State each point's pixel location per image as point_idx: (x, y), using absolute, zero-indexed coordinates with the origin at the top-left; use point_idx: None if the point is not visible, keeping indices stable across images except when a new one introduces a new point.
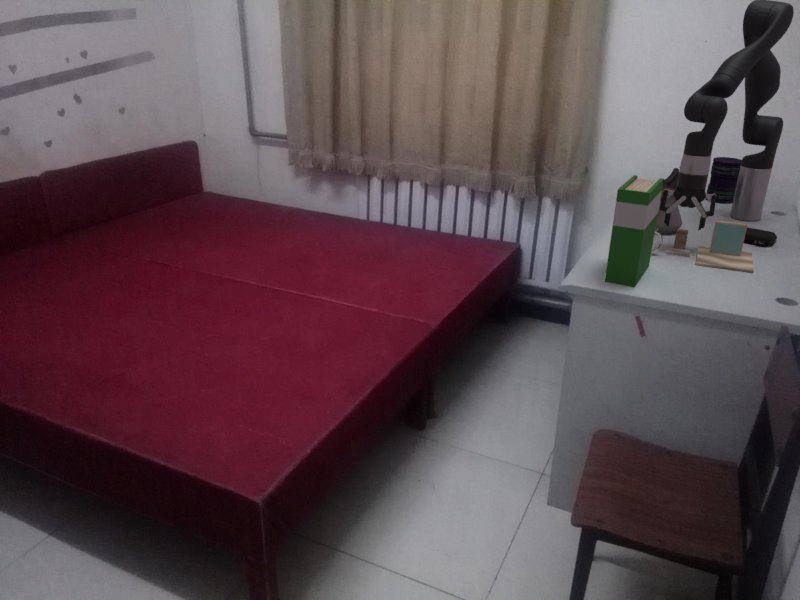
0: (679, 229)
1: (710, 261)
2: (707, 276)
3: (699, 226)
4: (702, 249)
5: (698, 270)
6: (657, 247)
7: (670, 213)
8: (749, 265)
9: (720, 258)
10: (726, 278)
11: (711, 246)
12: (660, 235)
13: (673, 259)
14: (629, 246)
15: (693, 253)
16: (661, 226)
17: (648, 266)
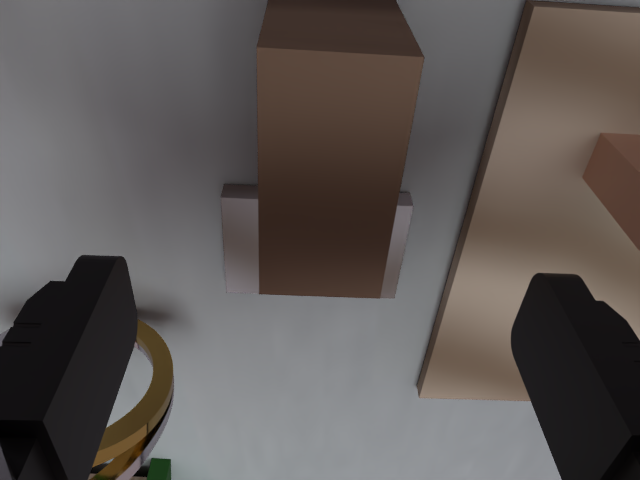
0: (289, 80)
1: None
2: (449, 477)
3: (531, 382)
4: (539, 125)
5: (419, 437)
6: (149, 353)
7: (57, 476)
8: None
9: (616, 287)
10: (535, 473)
11: (615, 211)
12: (132, 475)
13: (285, 348)
14: None
15: (440, 191)
16: None
17: (169, 470)
